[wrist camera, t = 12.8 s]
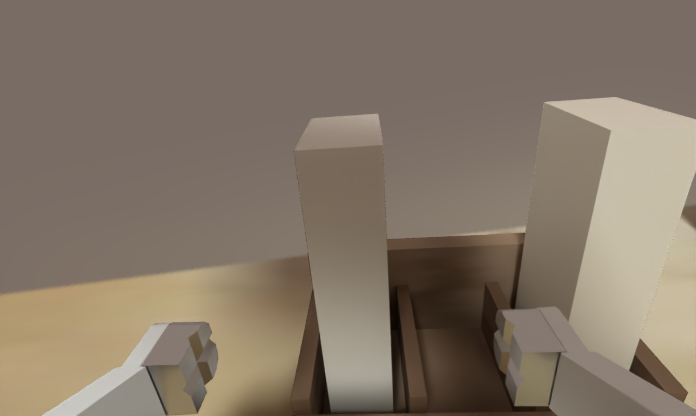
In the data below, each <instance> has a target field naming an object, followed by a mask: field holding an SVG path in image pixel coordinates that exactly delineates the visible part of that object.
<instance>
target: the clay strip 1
mask: <svg viewBox="0 0 696 416" xmlns="http://www.w3.org/2000/svg"><path fill="white" fill-rule="evenodd" d="M294 157H295V164H296V171H297V178H298V185H299V192H300V199H301V206H302V213H303V220H304V227H305V234H306V241H307V248H308V255H309V262H310V269H311V276H312V283H313V290H314V297H315V304H316V311H317V318H318V325H319V332H320V339H321V346H322V353H323V360H324V367H325V374H326V381H327V388H328V395H329V402H330V409H331V415H340V414H393V388H392V362H391V336H390V310H389V284H388V258H387V233H386V207H385V180H384V154H383V141H382V135H381V129H380V123H379V117H378V114H368V115H353V116H341V117H340V116H339V117H325V118H312V119H311V121H310V123H309V124H308V126H307V128H306V130H305V132H304V133H303V135H302V137H301V139H300V140H299V142H298V144H297V146H296V147H295V149H294Z"/></svg>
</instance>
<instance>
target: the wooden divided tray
mask: <svg viewBox="0 0 696 416" xmlns="http://www.w3.org/2000/svg"><path fill="white" fill-rule="evenodd" d="M524 240H525V233H513V234H491V235H470V236H448V237H426V238H405V239H387V258H388V284H389V310H390V336H391V362H392V388H393V414H340V415H331V409H330V402H329V395H328V388H327V381H326V374H325V367H324V360H323V353H322V346H321V339H320V332H319V325H318V318H317V311H316V304H315V297H314V290H312V295H311V300H310V305H309V310H308V315H307V320H306V325H305V330H304V335H303V340H302V345H301V350H300V355H299V360H298V365H297V370H296V375H295V380H294V385H293V390H292V395H291V403H292V408H293V413H294V416H557V415H556V414H555V413H554V412H553V411H552V410H551V409H550V408H549V406H514V404H513V401H512V399H511V396H510V394H509V391H508V389H507V387H506V384H505V382H506V374H505V373H503V372H502V371H501V370H500V369H499V367H498V364H497V361H496V358H495V354H494V345H493V342H494V333H495V332H496V331H497V330H498V329H499V328H498V326H497V324H496V322H495V320H496V313H497V311H498V310H506V309H515V304H516V297H517V290H518V283H519V276H520V269H521V262H522V255H523V247H524ZM308 259H309V255H308ZM309 266H310V262H309ZM310 273H311V269H310ZM311 280H312V276H311ZM312 287H313V283H312ZM629 371H630V372H631V373H633V374H635V375H637V376H638V377H640V378H642V379H643V380H645V381H647V382H649V383H650V384H652V385H654V386H655V387H657V388H659V389H661V390H662V391H664V392H666V393H667V394H669V395H671V396H673V397H674V398H676V399H678V400H680V401H681V402H683V403H684V400H685V398H686V396H687V394H688V392H687V391H686V390H685V388H684V387H683V386H682V385H681V384H680V383H679V382H678V381H677V379H676V378H675V377H674V376H673V375H672V374H671V373H670V372H669V370H668V369H667V368H666V367H665V366H664V365H663V364H662V363H661V361H660V360H659V359H658V358H657V357H656V356H655V355H654V353H653V352H652V351H651V350H650V349H649V348H648V347H647V346H646V344H645V343H644V342H643V341H642V340H641V339H639V342H638V345H637V348H636V351H635V354H634V357H633V360H632V363H631V366H630V369H629Z"/></svg>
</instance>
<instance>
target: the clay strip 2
mask: <svg viewBox="0 0 696 416" xmlns="http://www.w3.org/2000/svg"><path fill="white" fill-rule="evenodd" d="M695 172H696V119H692V118H688V117H685V116H681V115H678V114H674V113H671V112H667V111H663V110H660V109H656V108H653V107H649V106H645V105H642V104H638V103H635V102H631V101H628V100H624V99H620V98H617V97H612V98H598V99H585V100H568V101H556V102H555V101H554V102H544V106H543V113H542V120H541V127H540V134H539V141H538V148H537V155H536V163H535V169H534V177H533V184H532V191H531V198H530V205H529V212H528V219H527V226H526V233H525V240H524V247H523V255H522V262H521V269H520V276H519V283H518V290H517V297H516V304H515V309H527V308H539V307H557V308H558V309H559V310H560V311H561V313H562V314H563V315H564V317H565V318H566V320H567V321H568V322H569V324H570V325H571V327H572V328H573V329H574V331H575V332H576V334H577V335H578V336H579V338H580V339H581V341H582V342H583V343H584V345H585V346H586V347H587V349H588V350H589V352H597V353H599V354H601V355H602V356H604V357H606V358H607V359H609V360H611V361H613V362H614V363H616V364H618V365H619V366H621V367H623V368H625V369H626V370H628V371H629V369H630V366H631V363H632V360H633V357H634V354H635V351H636V348H637V345H638V342H639V339H640V336H641V333H642V330H643V327H644V324H645V322H646V319H647V316H648V313H649V310H650V307H651V304H652V301H653V298H654V295H655V292H656V289H657V286H658V283H659V280H660V277H661V274H662V271H663V268H664V265H665V262H666V259H667V256H668V253H669V250H670V247H671V244H672V241H673V238H674V235H675V232H676V229H677V226H678V223H679V220H680V217H681V214H682V211H683V208H684V205H685V202H686V199H687V196H688V193H689V190H690V187H691V184H692V181H693V178H694V175H695Z"/></svg>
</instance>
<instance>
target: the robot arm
mask: <svg viewBox="0 0 696 416" xmlns="http://www.w3.org/2000/svg"><path fill="white" fill-rule="evenodd" d="M495 322H496V324H497V326H498V328H499V329H498V330H497V331H496V332H495V333H494V342H493V345H494V354H495V358H496V361H497V364H498V367H499V369H500V370H501V371H502V372H503V373H505V374H506V382H505V384H506V387H507V389H508V391H509V394H510V396H511V399H512V401H513V404H514V406H549V408H550V409H551V410H552V411H553V412H554V413H555V414H556V415H557V416H696V410H695V409H693V408H692V407H690V406H688V405H686V404H685V403H683V402H681V401H680V400H678V399H676V398H674V397H673V396H671V395H669V394H667V393H666V392H664V391H662V390H661V389H659V388H657V387H655V386H654V385H652V384H650V383H649V382H647V381H645V380H643V379H642V378H640V377H638V376H637V375H635V374H633V373H631V372H630V371H628V370H626V369H625V368H623V367H621V366H619V365H618V364H616V363H614V362H613V361H611V360H609V359H607V358H606V357H604V356H602V355H601V354H599V353H597V352H589V350H588V349H587V347H586V346H585V345H584V343H583V342H582V341H581V339H580V338H579V336H578V335H577V334H576V332H575V331H574V329H573V328H572V327H571V325H570V324H569V322H568V321H567V320H566V318H565V317H564V315H563V314H562V313H561V311H560V310H559V309H558V308H557V307H539V308H527V309H506V310H498V311H497V313H496V320H495ZM211 333H212V331H211V329H210V326H209V323H206V322H173V323H155V324H153V325H152V326H150V328H149V329H148V331H147V332H146V333H145V335H144V336H143V337H142V339H141V340H140V342H139V343H138V344H137V346H136V347H135V349H134V350H133V351H132V353H131V354H130V355H129V357H128V358H127V360H126V361H125V362H124V364H123V365H122V367H117V368H114V369H113V370H111V371H110V372H108V373H106V374H105V375H103V376H102V377H100V378H99V379H97V380H96V381H94V382H93V383H91V384H90V385H88V386H86V387H85V388H83V389H82V390H80V391H79V392H77V393H76V394H74V395H73V396H71V397H70V398H68V399H66V400H65V401H63V402H62V403H60V404H59V405H57V406H56V407H54V408H53V409H51V410H50V411H48V412H46V413H45V414H43V415H42V416H167V415H186V414H198V411H199V409H200V407H201V404H202V402H203V400H204V398H205V395H206V393H207V391H206V388H205V385H206V384H207V383H208V382H209V381H210V380H211V379H213V377H214V374H215V372H216V369H217V362H218V352H217V348H216V344H215V343H213V342H212V341H211V340H210V339H209V337H210V335H211Z"/></svg>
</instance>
